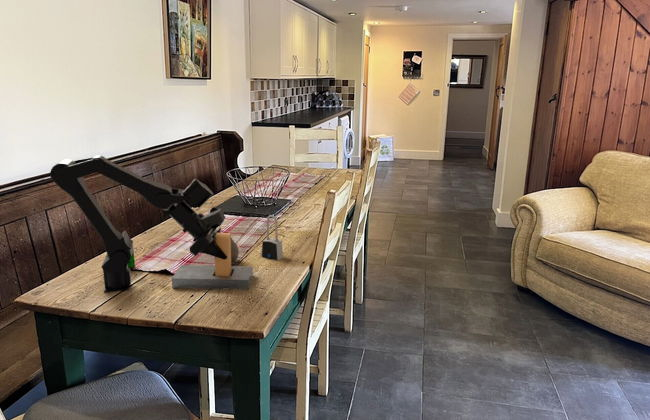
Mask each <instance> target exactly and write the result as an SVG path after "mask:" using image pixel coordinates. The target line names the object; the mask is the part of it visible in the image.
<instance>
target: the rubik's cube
mask: <svg viewBox="0 0 650 420" xmlns="http://www.w3.org/2000/svg"><path fill="white" fill-rule="evenodd" d="M127 264H128V269H132V268H135V267H136V262H135V252H134V249H133V252H132V256H131V259H130V261H129V262H128V263H127Z"/></svg>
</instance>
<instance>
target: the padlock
mask: <svg viewBox="0 0 650 420" xmlns="http://www.w3.org/2000/svg"><path fill="white" fill-rule="evenodd" d="M270 218H273V219H274V223H275V224H274V225H275V237H274V238H273V237H270ZM278 231H279V230H278V219H277V217H276V216H274V215H273V214H270V215H268V216H267V217H266V238H265V239H263V240H261V244H262V245H261V255H260V257H261V258H263V259H267V260H271V261H272V260H273V261H280V260H281V259H283V258H284V253H283V252H284V251H283V240H280V239H278Z"/></svg>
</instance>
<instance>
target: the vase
mask: <svg viewBox="0 0 650 420" xmlns="http://www.w3.org/2000/svg"><path fill="white" fill-rule="evenodd" d="M238 258H239V247H238V244H237V243H236V242H235V241H234V239H233V238H232V237H231V265H232V264H235V262H236V261H237V259H238Z"/></svg>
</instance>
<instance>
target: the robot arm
mask: <svg viewBox="0 0 650 420" xmlns="http://www.w3.org/2000/svg"><path fill="white" fill-rule="evenodd" d="M92 174H100V175H102V176H103V177H106V178H108V179H110V180H112V181H114V182H116V183H118V184H121V185H122V186H124V187H125V188H128V189H130V190H132V191H134V192H137V193H138V194H139V195H141V196H142V197H143V198H144V199H145V200H146V201H147V202H148V203H150V204H151V205H152V206H154V207H155V208H157V209H161V212H162V221H163V220H166V219H167V218H168V217H169V216H170V217H171V218H172V220H174V221H175V222H176V223H177V224H178V225H179V226H180V227H181V228H182V230H181V232H183V233H184V234H185V233H188V234H189V235H190V236H191V237H192V238H193V239H192V241H193V243H192V244H191V245H190V247H189V253H190V255H192V256H193V257H196V256H198V255H199V254H205V255H208V256H212V257H214V258H215V257H218V258H221V259H224V260H225V259H226V258H227V256H226V254H225V253H224V252H223V251H222V249H221V248H220V247H219V246H218V245H217V243H216V236H215V235H216V234H217V233H222V227H221V226H222V224H223V223H224V222H225V219H227V218H226V216H225V214H224V212H225V211H224V210H223V209H222V208H221V207H220V208H219V206H217V205H215V206H212V207H211V208H210V212H208V213H207V214H203V213H202V212H201V213H200V212H199V213H197V212H196V211H195V210H194V209H197V208H198V209H200V208H201V207H202V206H203V205H204V204H205V203H207V202H208V201H209V199H210V198H212V196H214V192H213V191H212V190H211V189H210V187H208V186H207V185H206V184H205V183H203V182H201V181H200V180H198V179H197V178H193V180H192V181H191V183H189V185H188V186H186V188H185V189H182V188H181V189H180V188H173V187H171V186H170V185H167V184H165V183H162V182H159V181H155V180H150V179H147V178H144V177H143V176H141V175H138V174H137V173H135V172H132V171H131V170H128V169H127V168H125V167H122V165H118V164H117V163H115V162H113V161H111V160H110V159H108V158H106V157H105V156H103V155H99V154H97V155H95V156H92V157H86V158H81V159H80V158H79V159H76V160H71V159H69V158H68V159H67V158H66V159H62V160H60V161H58V162H57V163H55V165H53V166H52V168H51V169H50V173H49V175H50V179H51V180H52V181H53V182H54V183H55V184H56V186H58V187H59V188H60V189H61V190H62V191H63V192H65V193H66V194H67V195H69V196H70V197H71V198H72V199H73V201H74V202H75V203H76V204H77V206H78V207H79V209H80V210H81V211H82V213H83V214H84V216H85V217H86V218H87V220H88V221H89V223H90V224H91V226H92V227H93V229H94V230H95V231H96V233H97V234H98V235H99V237H100V238H101V240H102V243H103V246H104V250H105V253H106V256H105V257H104V260H103V262H102V265H101V269H102V272H103V282H104V283H103V284H104V288H103V292H116V291H127V290H129V289H130V286H131V284H132V276H131V268H129V269H128V264H127V263H128V262H129V261H130V259H131V256H132V252H133V250H134V245H133V244H134V240H133V239H131V238H130V236H129V235H128V232H127V230H124V231H122V233H121V232H120V231H119V230H117V229H116V228H115V226H114V225H113V224H112V222H111V220H110V219H109V217H108V216H107V215H106V213H105V212H104V211H103V209H102V208H101V206H100V205H99V203H98V202H97V200H96V199H95V198H94V196H93V195H92V193H91V192H90V190H89V189H88V187H87V184H86V181H85V178H84V177H86V176H89V175H92ZM218 227H219V229H218Z"/></svg>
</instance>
